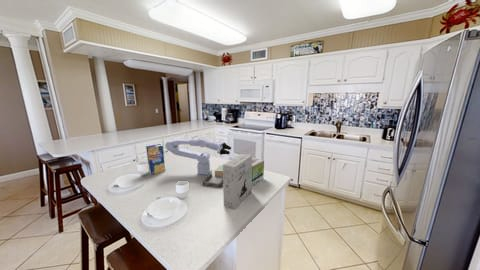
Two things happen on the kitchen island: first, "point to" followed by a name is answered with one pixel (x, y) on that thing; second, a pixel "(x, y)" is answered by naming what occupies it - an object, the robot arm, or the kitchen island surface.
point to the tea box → (257, 170)
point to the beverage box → (155, 158)
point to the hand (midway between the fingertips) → (230, 150)
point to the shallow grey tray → (206, 183)
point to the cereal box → (237, 180)
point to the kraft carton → (219, 171)
